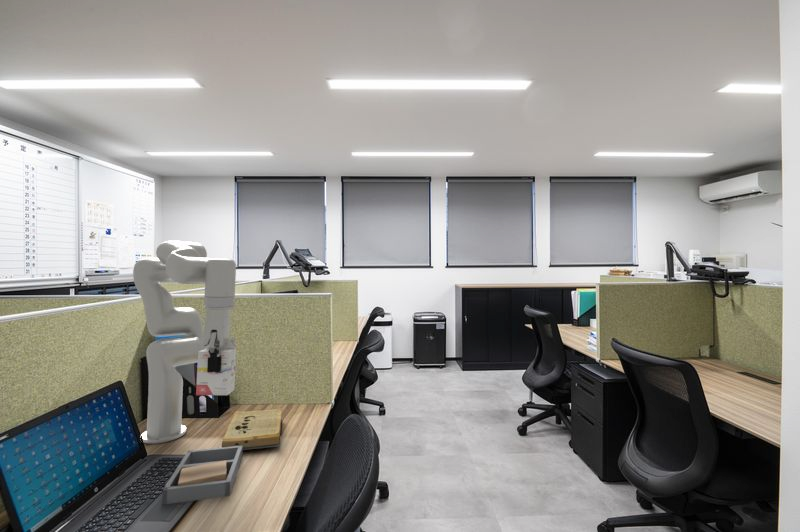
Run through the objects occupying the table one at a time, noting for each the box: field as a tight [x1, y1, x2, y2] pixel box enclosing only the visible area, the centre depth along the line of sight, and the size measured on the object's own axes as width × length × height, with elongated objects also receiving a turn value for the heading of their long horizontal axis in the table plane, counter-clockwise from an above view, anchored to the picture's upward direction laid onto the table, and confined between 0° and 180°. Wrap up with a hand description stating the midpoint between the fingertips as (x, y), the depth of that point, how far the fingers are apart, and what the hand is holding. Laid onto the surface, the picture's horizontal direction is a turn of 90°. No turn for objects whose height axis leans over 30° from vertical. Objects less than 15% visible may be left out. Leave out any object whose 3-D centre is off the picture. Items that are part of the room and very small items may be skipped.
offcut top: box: [178, 460, 226, 486], centre depth 88 cm, size 7×10×2 cm
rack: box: [161, 445, 244, 506], centre depth 92 cm, size 19×14×4 cm
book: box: [221, 406, 283, 451], centre depth 117 cm, size 25×17×6 cm
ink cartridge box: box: [195, 337, 237, 396], centre depth 98 cm, size 9×5×15 cm, turn 94°
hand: (216, 368), depth 98 cm, fingers closed on ink cartridge box, 5 cm apart
